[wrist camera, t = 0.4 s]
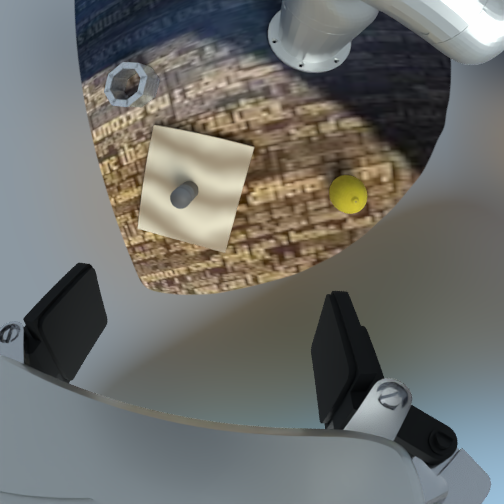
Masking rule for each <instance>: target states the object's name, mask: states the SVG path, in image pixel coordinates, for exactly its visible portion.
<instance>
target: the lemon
mask: <svg viewBox="0 0 504 504" xmlns="http://www.w3.org/2000/svg"><path fill="white" fill-rule="evenodd" d="M329 195H330V199H331V202H332V203H333V205H334V206H335V207H336V208H337V209H338V210H340V211H342V212H344V213H349V214H352V213H356V212H359V211H360V210H361V209H362V208H363V207H364V206H365V204H366V201H367V191H366V188H365V186H364V184H363V183H362V182H361V181H360V180H359V179H357V178H356V177H354V176H351V175H342V176H339V177H337V178H336V179H335V180H334V181H333V182H332V184H331V186H330V189H329Z"/></svg>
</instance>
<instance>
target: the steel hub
mask: <svg viewBox="0 0 504 504" xmlns="http://www.w3.org/2000/svg"><path fill="white" fill-rule="evenodd" d="M136 73H138V75H139V77H140V78H141V79H140V83H139V87H138V91H137V92H136V93H135V94H134V95H133V96H131V97H130V98H129V97H128V96H127V94H126V92H125V89H126V85H127V81H128V79H130V78H131V77H132V76H133V75H135V74H136ZM159 82H160V80H159V78H158V77H157V75H156V73H155V72H154V70H153V69H152V68H151V67H149V66H146V65H143V64H141V63H132V62H122V63H121V64H120V65H119V66H117V67H116V68H115V69H114V70H113V71H112V72H110V73H109V74H108V78H107V82H106V86H105V90H104V93H105V94H106V96H107V98H108V100H109V101H110V103H111V105H114V106H124V107H141V108H142V107H143V106H144V105H146V104H147V103H148V102H150V101H151V100H152V99H154V98H155V97H156V93H157V89H158V86H159Z"/></svg>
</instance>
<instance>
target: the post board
mask: <svg viewBox="0 0 504 504" xmlns="http://www.w3.org/2000/svg"><path fill="white" fill-rule="evenodd" d="M253 150H254V146H250V145H247V144H243V143H239V142H235V141H231V140H227V139H223V138H219V137H215V136H210V135H206V134H201V133H197V132H192V131H187V130H182V129H177V128H172V127H166V126H161V125H154V127H153V132H152V137H151V142H150V147H149V152H148V158H147V163H146V169H145V176H144V182H143V189H142V196H141V204H140V212H139V221H138V229H141V230H145V231H148V232H152V233H156V234H159V235H163V236H166V237H170V238H173V239H177V240H181V241H184V242H188V243H191V244H195V245H199V246H202V247H206V248H210V249H213V250H217V251H221V252H224V253H225V251H226V248H227V244H228V240H229V236H230V233H231V229H232V225H233V222H234V218H235V214H236V211H237V207H238V203H239V200H240V196H241V192H242V189H243V185H244V182H245V178H246V175H247V171H248V168H249V164H250V161H251V157H252V154H253Z"/></svg>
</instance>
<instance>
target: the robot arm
mask: <svg viewBox="0 0 504 504" xmlns="http://www.w3.org/2000/svg"><path fill="white" fill-rule="evenodd" d="M379 11H382V12H384V13H385V14H387V15H389V16H390V17H392V18H394V19H395V20H397V21H398V22H400V23H401V24H403V25H404V26H406V27H407V28H409V29H410V30H412V31H413V32H415V33H416V34H418V35H419V36H420V37H422V38H423V39H424V40H426V41H427V42H429V43H430V44H431V45H433V46H434V47H435V48H437V49H438V50H439V51H441V52H442V53H443V54H445V55H446V56H448V57H449V58H451V59H453V60H455V61H457V62H459V63H462V64H467V65H476V64H481V63H484V62H487V61H489V60H490V59H492V58H494V57H495V56H497V55H498V54H499V53H501V52H502V51H503V50H504V0H282V6H281V10H280V11H279V12H277V13H276V14H275V16H274V17H273V18H272V20H271V22H270V24H269V28H268V41H269V44H270V47H271V49H272V50H273V52H274V54H275V55H276V56H277V57H278V58H279V59H280V60H281V61H282V62H284V63H285V64H286V65H288V66H290V67H292V68H294V69H296V70H299V71H303V72H308V73H321V72H326V71H329V70H332V69H334V68H336V67H338V66H339V65H340V64H341V63H342V62H343V61H344V60H345V59H346V58H347V56H348V54H349V52H350V48H351V40H353V39H354V38H355V37H356V36H357V35H358V34H359V33H360V32H362V31H363V30H364V29H365V28H366V27H367V26H368V25H370V24H371V23H372V22H373V20H374V19H375V18H376V16H377V14H378V12H379ZM273 41H275V42H276V43H273ZM334 60H336V61H337V63H335V62H334ZM299 65H302V67H299ZM24 322H25V324H26V326H25V327H23V325H22V324H21V323H20V322H17V321H13V322H9V323H6V324H5V325H3V326H2V327H1V328H0V504H481V503H482V502H483V501H484V499H485V498H486V496H487V495H488V493H489V490H490V487H491V481H490V478H489V476H488V475H487V473H485V471H484V470H483V469H482V468H481V467H480V466H479V465H478V464H477V463H476V462H475V461H474V460H473V459H472V458H471V456H469V454H468V453H467V452H466V451H465V450H464V449H463V448H462V449H460V450H459V449H458V448H457V437H456V434H455V433H454V431H453V430H452V429H451V428H450V427H448V426H447V425H445V424H443V423H442V422H440V421H438V420H436V419H434V418H433V417H431V416H429V415H428V414H426V413H424V412H423V411H421V410H419V409H418V408H416V407H414V406H413V405H411V403H412V394H411V392H410V390H409V388H408V387H407V386H406V385H405V384H404V383H402V382H401V381H399V380H396V379H391V378H386V379H384V376H383V373H382V370H381V367H380V364H379V362H378V359H377V356H376V353H375V350H374V348H373V345H372V342H371V340H370V337H369V334H368V332H367V329H366V328H365V327H364V326H361V325H360V322H359V320H358V317H357V314H356V312H355V309H354V307H353V304H352V302H351V299H350V297H349V294H348V292H344V291H343V292H342V291H332V293H331V294H327V295H326V298H325V302H324V305H323V309H322V312H321V316H320V319H319V323H318V326H317V330H316V333H315V336H314V339H313V343H312V347H311V355H312V362H313V370H314V377H315V385H316V393H317V401H318V409H319V418H320V422H321V423H325V429H306V428H274V427H259V426H248V425H237V424H228V423H220V422H213V421H206V420H200V419H193V418H187V417H183V416H178V415H173V414H168V413H163V412H159V411H155V410H150V409H146V408H142V407H139V406H135V405H131V404H127V403H124V402H120V401H117V400H114V399H111V398H108V397H105V396H102V395H98V394H96V393H93V392H90V391H87V390H84V389H81V388H79V387H76V386H74V385H71V384H69V382H70V381H71V380H73V379H74V377H75V375H76V374H77V372H78V370H79V369H80V367H81V365H82V364H83V362H84V360H85V359H86V357H87V355H88V354H89V352H90V350H91V349H92V347H93V346H94V344H95V342H96V341H97V339H98V338H99V336H100V335H101V333H102V331H103V330H104V328H105V327H106V325H107V316H106V312H105V309H104V305H103V301H102V297H101V293H100V289H99V285H98V281H97V276H96V272H95V269H94V268H93V267H92V266H91V265H90V264H85V263H78V264H76V266H74V267H73V268H72V269H71V270H70V271H69V272H68V273H67V274H66V275H65V276H64V277H63V278H62V279H61V280H60V281H59V282H58V283H57V284H56V285H55V286H54V287H53V288H52V289H51V290H50V291H49V292H48V293H47V294H46V295H45V296H44V297H43V298H42V299H41V300H40V301H39V302H38V303H37V304H36V305H35V306H34V307H33V309H32V310H31V311H30V312H29V313H28V314H27V315H26V316H25V317H24Z"/></svg>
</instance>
